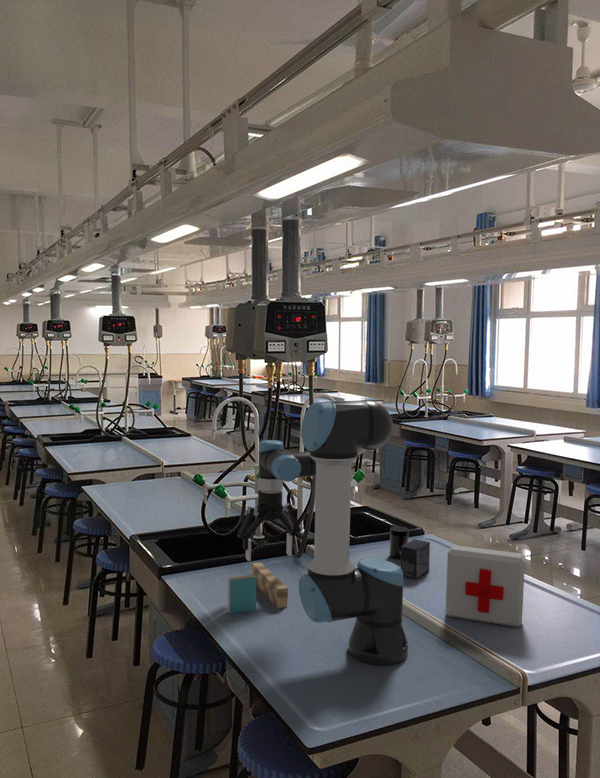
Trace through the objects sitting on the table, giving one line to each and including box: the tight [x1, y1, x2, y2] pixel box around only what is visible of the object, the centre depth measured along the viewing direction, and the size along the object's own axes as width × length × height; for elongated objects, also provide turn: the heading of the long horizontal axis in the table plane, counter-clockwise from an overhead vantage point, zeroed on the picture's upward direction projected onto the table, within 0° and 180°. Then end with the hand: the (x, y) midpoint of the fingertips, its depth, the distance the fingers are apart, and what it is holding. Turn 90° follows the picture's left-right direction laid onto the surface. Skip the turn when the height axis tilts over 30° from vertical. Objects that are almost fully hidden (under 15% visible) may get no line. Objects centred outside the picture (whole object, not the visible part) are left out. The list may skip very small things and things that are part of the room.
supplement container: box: [389, 525, 410, 560], centre depth 243 cm, size 7×7×10 cm
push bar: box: [251, 561, 289, 609], centre depth 206 cm, size 24×3×6 cm, turn 23°
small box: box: [400, 538, 431, 580], centre depth 225 cm, size 11×6×10 cm, turn 144°
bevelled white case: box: [445, 544, 526, 628], centre depth 189 cm, size 21×8×20 cm, turn 70°
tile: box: [227, 574, 257, 614], centre depth 192 cm, size 2×8×10 cm, turn 113°
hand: (268, 557), depth 206 cm, fingers open, 13 cm apart
